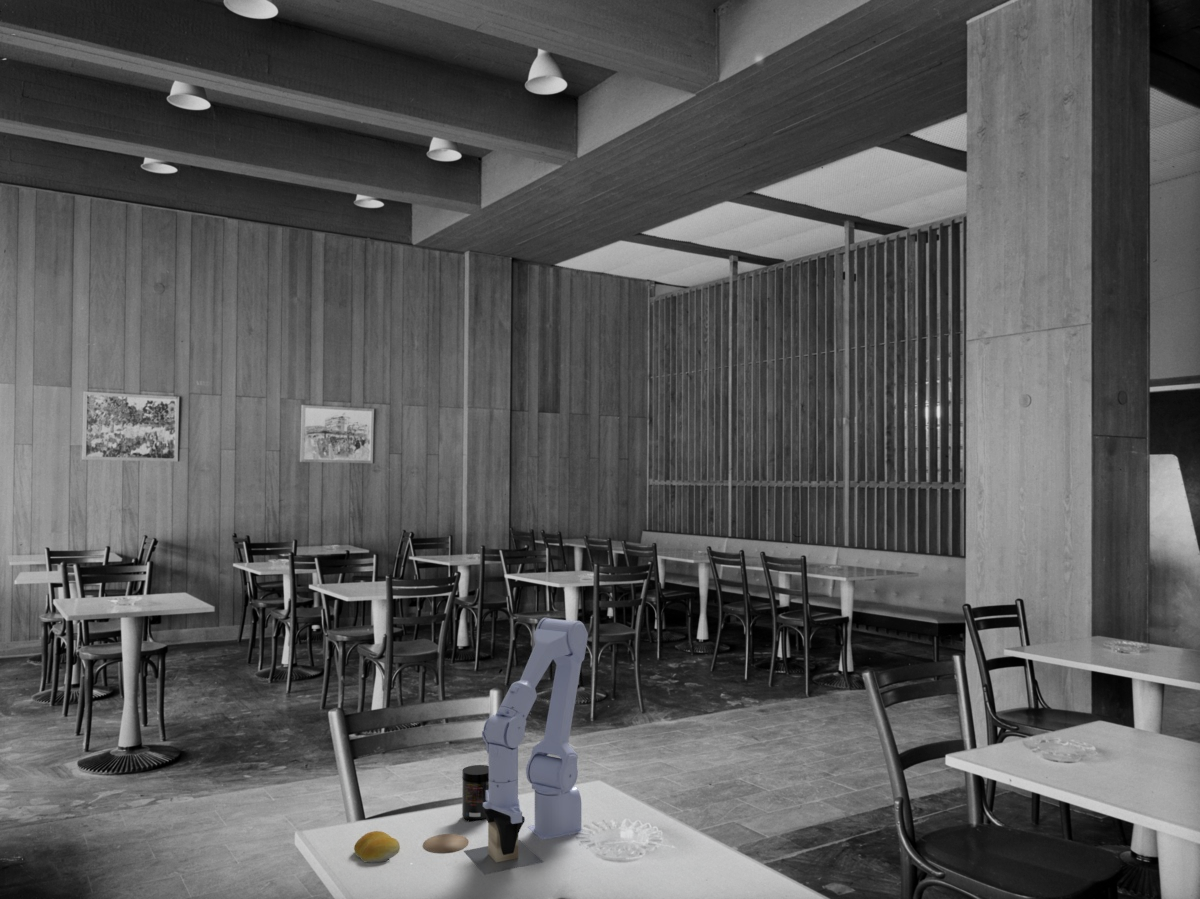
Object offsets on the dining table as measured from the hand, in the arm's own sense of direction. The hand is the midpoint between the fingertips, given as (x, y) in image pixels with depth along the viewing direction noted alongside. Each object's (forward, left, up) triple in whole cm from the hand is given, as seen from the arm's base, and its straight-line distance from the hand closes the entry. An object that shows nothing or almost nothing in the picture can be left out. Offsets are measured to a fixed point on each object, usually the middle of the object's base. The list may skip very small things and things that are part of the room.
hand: (503, 848), depth 178 cm
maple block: (0, 0, -1) cm, 1 cm away
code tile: (0, 0, -2) cm, 2 cm away
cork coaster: (+8, -11, -2) cm, 14 cm away
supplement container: (-3, -23, -2) cm, 23 cm away
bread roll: (+21, -14, -2) cm, 26 cm away
